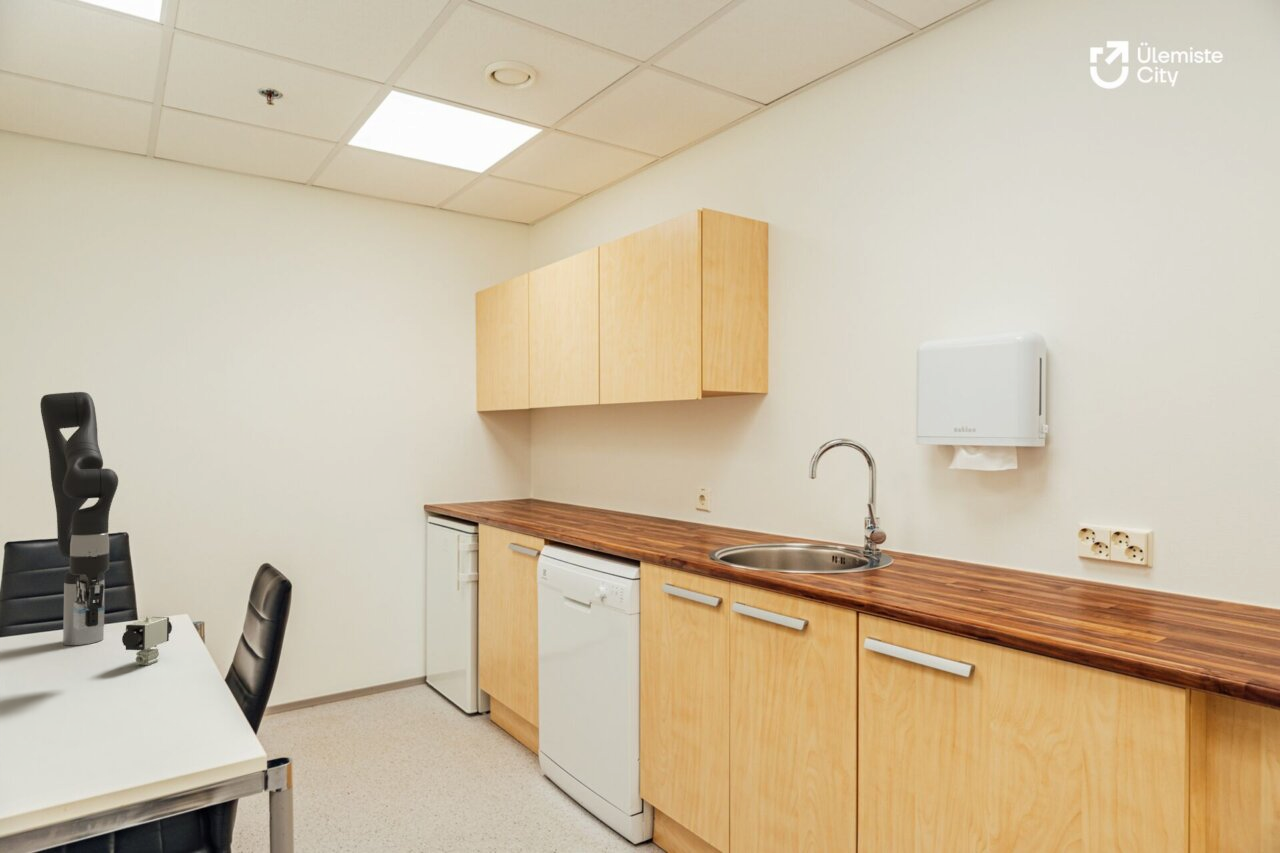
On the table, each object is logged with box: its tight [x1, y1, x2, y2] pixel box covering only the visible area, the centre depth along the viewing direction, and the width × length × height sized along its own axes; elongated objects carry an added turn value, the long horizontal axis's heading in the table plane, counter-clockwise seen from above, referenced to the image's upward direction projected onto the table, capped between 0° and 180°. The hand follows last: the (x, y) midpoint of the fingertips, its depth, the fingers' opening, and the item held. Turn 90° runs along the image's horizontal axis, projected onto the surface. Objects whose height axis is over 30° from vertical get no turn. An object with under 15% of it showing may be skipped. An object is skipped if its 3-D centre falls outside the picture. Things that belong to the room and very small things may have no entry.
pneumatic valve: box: [121, 616, 173, 666], centre depth 190 cm, size 6×12×12 cm, turn 174°
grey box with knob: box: [73, 596, 106, 630], centre depth 175 cm, size 5×5×7 cm
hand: (88, 623), depth 175 cm, fingers closed on grey box with knob, 4 cm apart
